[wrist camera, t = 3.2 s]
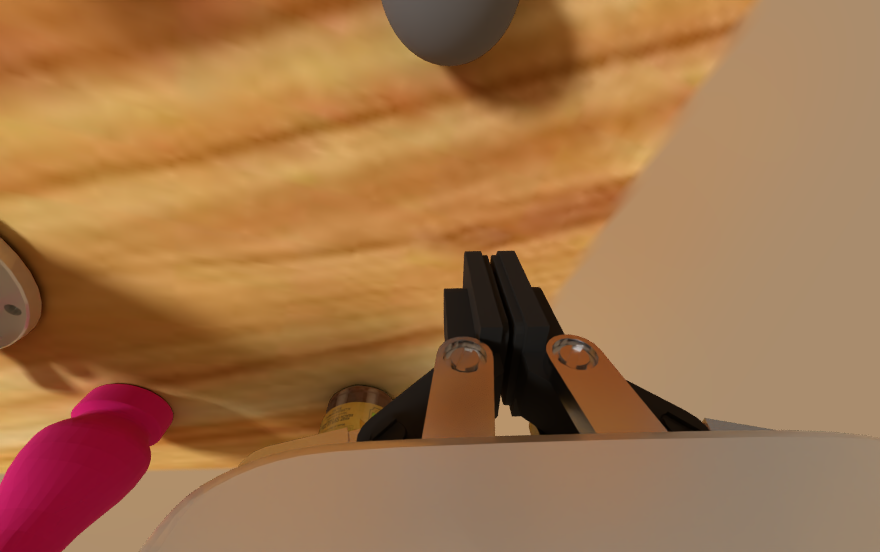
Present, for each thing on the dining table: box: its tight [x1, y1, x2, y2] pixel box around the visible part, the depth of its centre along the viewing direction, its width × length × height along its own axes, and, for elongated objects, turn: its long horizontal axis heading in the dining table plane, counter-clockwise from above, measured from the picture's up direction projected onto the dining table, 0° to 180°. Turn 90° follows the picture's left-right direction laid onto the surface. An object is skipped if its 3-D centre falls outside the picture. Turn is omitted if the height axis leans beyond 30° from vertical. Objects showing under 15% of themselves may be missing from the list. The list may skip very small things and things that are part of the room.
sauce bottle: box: [318, 385, 393, 434], centre depth 21 cm, size 6×6×20 cm
